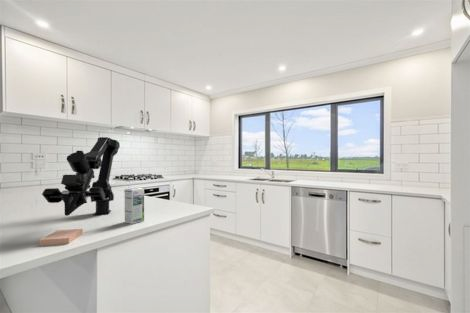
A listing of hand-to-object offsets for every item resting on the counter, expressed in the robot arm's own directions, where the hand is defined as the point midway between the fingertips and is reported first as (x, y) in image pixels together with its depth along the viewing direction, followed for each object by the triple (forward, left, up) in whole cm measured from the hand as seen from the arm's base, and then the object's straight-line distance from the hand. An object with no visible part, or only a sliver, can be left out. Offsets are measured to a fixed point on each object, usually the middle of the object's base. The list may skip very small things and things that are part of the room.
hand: (66, 215), depth 73 cm
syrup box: (-12, +20, -8) cm, 25 cm away
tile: (-2, 0, -7) cm, 7 cm away
